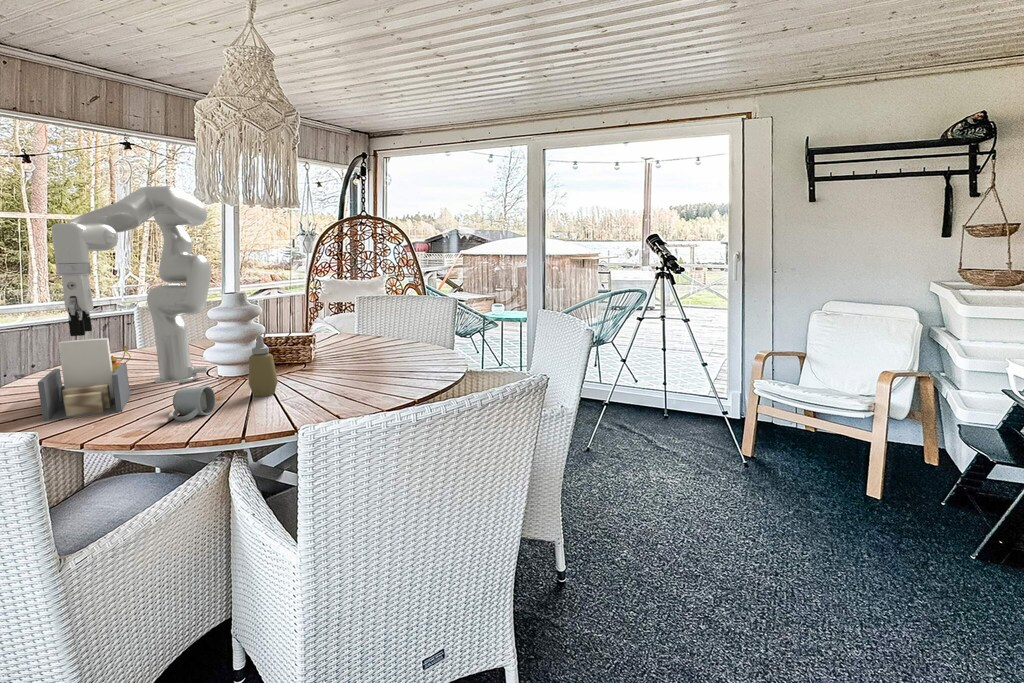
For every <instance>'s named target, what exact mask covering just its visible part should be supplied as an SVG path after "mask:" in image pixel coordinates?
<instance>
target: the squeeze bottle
mask: <svg viewBox="0 0 1024 683" xmlns="http://www.w3.org/2000/svg"><path fill="white" fill-rule="evenodd" d="M269 352H270V348H269V346H267V345H265V342H264V338H263V337H262V335H261V334H257V335H256V341H255V346H254V347H251V353H252V354H251V355H249V357H248V386H249V388H250V390H251V392H252V395H253V396H255V397H262V398H263V397H269V396H273V395H275V393H276V388H277V386H278V380H279V379H278V376H277V370H276V366H275V361H274V356H273V354H271V353H269Z"/></svg>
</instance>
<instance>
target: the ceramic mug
mask: <svg viewBox="0 0 1024 683" xmlns="http://www.w3.org/2000/svg"><path fill="white" fill-rule="evenodd" d="M172 406H173V409H174V411H173V412H172V416H173V418H174V420H175V421H176V422H187V421H191V420H192V419H193V418H195V417H196V416H209V415H210V414H212V413H213V411H214V410H215V406H216V396H215V391H214V389H213V388H212V387H211V386H208V385H203V386H194V387H183V388H180V389H178V390H176V391H175V393H174V395H173V398H172ZM178 415H182V416H178Z"/></svg>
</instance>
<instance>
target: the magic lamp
mask: <svg viewBox="0 0 1024 683" xmlns="http://www.w3.org/2000/svg"><path fill="white" fill-rule="evenodd" d="M127 346H128V345H127V344H125V345H123V346H122V348H123V355H122V357H121V359H117V358H116V357H115V356H114V355H111V361H112V369H113V373H114V372H115V371H116V369H117V368H118V367H119V365H120V364H121V363H122V361H123V360H124V359H125V355H126V354H127V355H128V356H129V357H128V359H127V360H125V361H124V362H123V363H126V364H127V362H128V361H130V360H131V358H132V357H131V354H130V353H129V352H128V350H127V349H128V347H127Z"/></svg>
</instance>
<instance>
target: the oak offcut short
mask: <svg viewBox="0 0 1024 683" xmlns="http://www.w3.org/2000/svg"><path fill="white" fill-rule="evenodd" d="M64 402H65V409H66V416H73V415H82V414H90V413H99V412H103V411H104V410H105V406H104V398H103V391H100V392H90V393H80V394H71V395H66V396H65V397H64Z"/></svg>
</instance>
